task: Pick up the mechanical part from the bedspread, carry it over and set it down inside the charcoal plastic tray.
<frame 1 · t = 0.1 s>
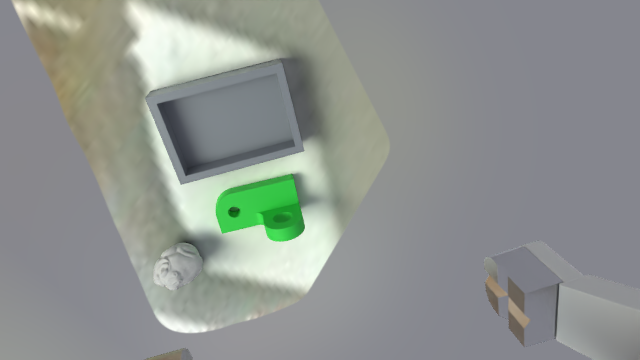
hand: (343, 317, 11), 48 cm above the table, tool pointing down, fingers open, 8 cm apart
white sculpted head: (182, 250, 64), on the table
mechanical part: (256, 199, 63), on the table
tray: (229, 118, 57), on the table
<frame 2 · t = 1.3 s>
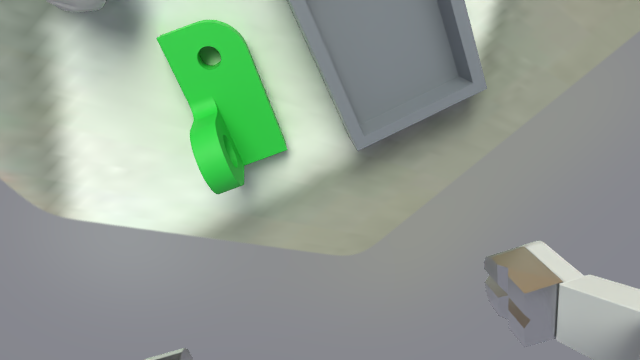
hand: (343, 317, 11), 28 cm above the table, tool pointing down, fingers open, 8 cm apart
mechanical part: (228, 91, 36), on the table
tray: (375, 19, 35), on the table
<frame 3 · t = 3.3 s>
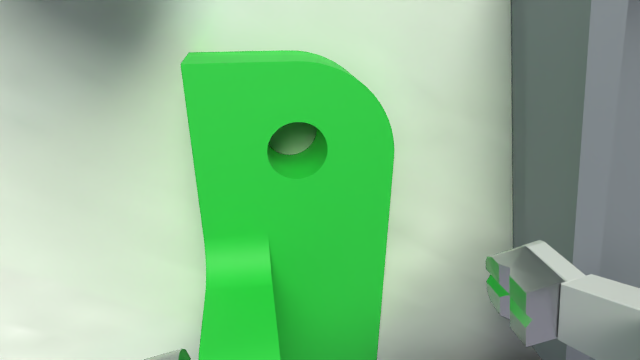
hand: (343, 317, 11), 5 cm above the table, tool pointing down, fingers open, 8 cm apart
mechanical part: (292, 214, 16), on the table, touching gripper
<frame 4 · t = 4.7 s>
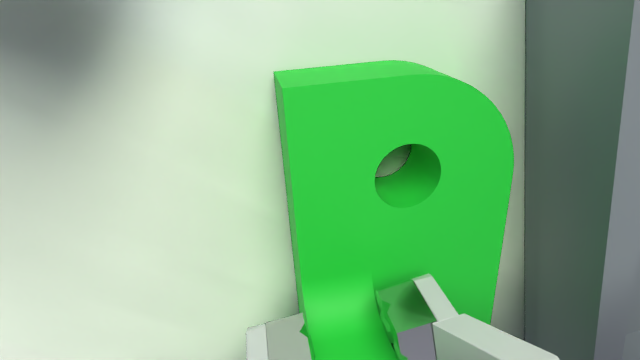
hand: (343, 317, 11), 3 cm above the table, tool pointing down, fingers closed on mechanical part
mechanical part: (380, 241, 14), on the table, touching gripper
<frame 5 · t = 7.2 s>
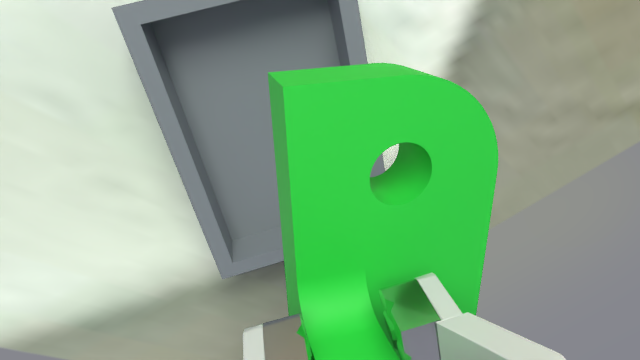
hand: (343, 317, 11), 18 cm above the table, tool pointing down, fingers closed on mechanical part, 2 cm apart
mechanical part: (368, 241, 14), point 15 cm above the table, touching gripper
tray: (271, 120, 28), on the table
when the fingers open (5 cm above the table, at t = 10.5 s): mechanical part drops 2 cm, resting on tray.
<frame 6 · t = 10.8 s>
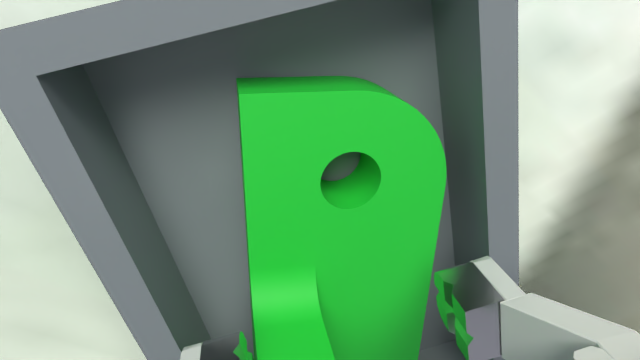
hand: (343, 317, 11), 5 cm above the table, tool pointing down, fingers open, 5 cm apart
mechanical part: (329, 240, 15), point 1 cm above the table, touching gripper, tray
tray: (313, 220, 16), on the table
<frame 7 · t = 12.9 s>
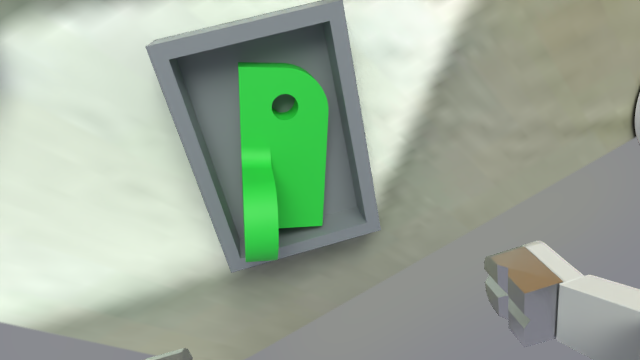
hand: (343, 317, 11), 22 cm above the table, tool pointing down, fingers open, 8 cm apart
mechanical part: (281, 144, 32), point 1 cm above the table, touching tray
tray: (275, 135, 32), on the table
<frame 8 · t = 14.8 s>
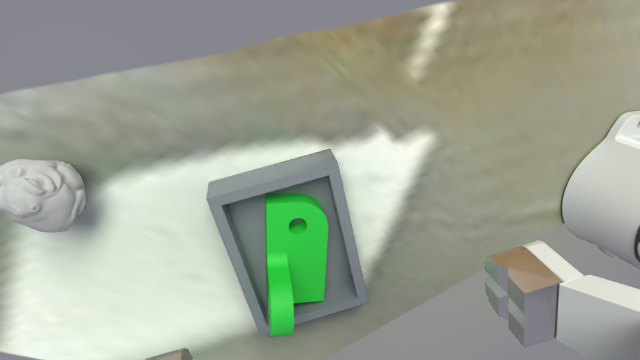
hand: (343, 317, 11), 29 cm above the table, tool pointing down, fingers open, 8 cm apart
white sculpted head: (60, 173, 37), on the table
mechanical part: (294, 243, 44), point 1 cm above the table, touching tray
tray: (291, 236, 44), on the table
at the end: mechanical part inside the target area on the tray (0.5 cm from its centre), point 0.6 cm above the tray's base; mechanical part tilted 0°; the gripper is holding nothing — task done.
